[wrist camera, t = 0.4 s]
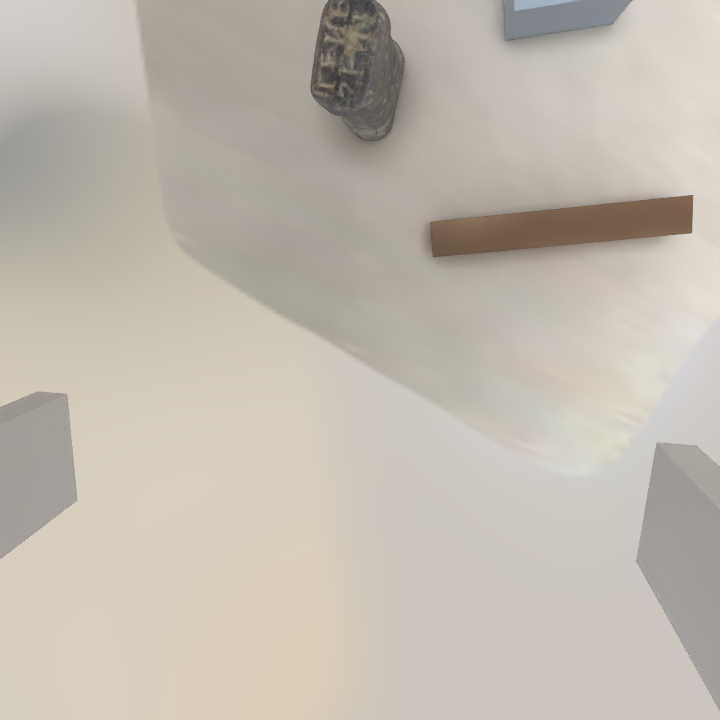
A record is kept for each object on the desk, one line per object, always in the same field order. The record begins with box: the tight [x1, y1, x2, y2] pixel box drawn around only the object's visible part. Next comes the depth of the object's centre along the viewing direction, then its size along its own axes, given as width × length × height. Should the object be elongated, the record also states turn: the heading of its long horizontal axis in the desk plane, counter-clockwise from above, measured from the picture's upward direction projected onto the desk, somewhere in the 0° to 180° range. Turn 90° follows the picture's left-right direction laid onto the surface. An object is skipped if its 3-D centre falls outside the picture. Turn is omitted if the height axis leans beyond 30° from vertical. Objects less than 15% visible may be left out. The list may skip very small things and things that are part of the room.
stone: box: [311, 0, 405, 141], centre depth 31 cm, size 3×6×10 cm, turn 167°
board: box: [430, 195, 693, 257], centre depth 34 cm, size 2×14×4 cm, turn 96°
